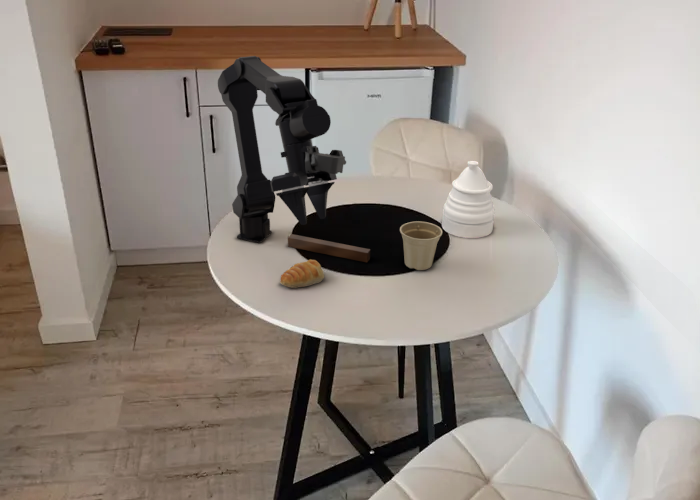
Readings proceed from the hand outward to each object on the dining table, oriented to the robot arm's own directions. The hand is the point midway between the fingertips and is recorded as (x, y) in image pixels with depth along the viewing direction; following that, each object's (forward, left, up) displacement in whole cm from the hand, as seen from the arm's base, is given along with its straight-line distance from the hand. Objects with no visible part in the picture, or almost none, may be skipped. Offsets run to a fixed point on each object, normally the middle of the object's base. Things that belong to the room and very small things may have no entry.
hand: (313, 221), depth 135 cm
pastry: (-4, +4, -17) cm, 18 cm away
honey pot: (+23, +45, -17) cm, 53 cm away
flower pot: (+17, +21, -17) cm, 32 cm away
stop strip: (-4, +18, -16) cm, 25 cm away
